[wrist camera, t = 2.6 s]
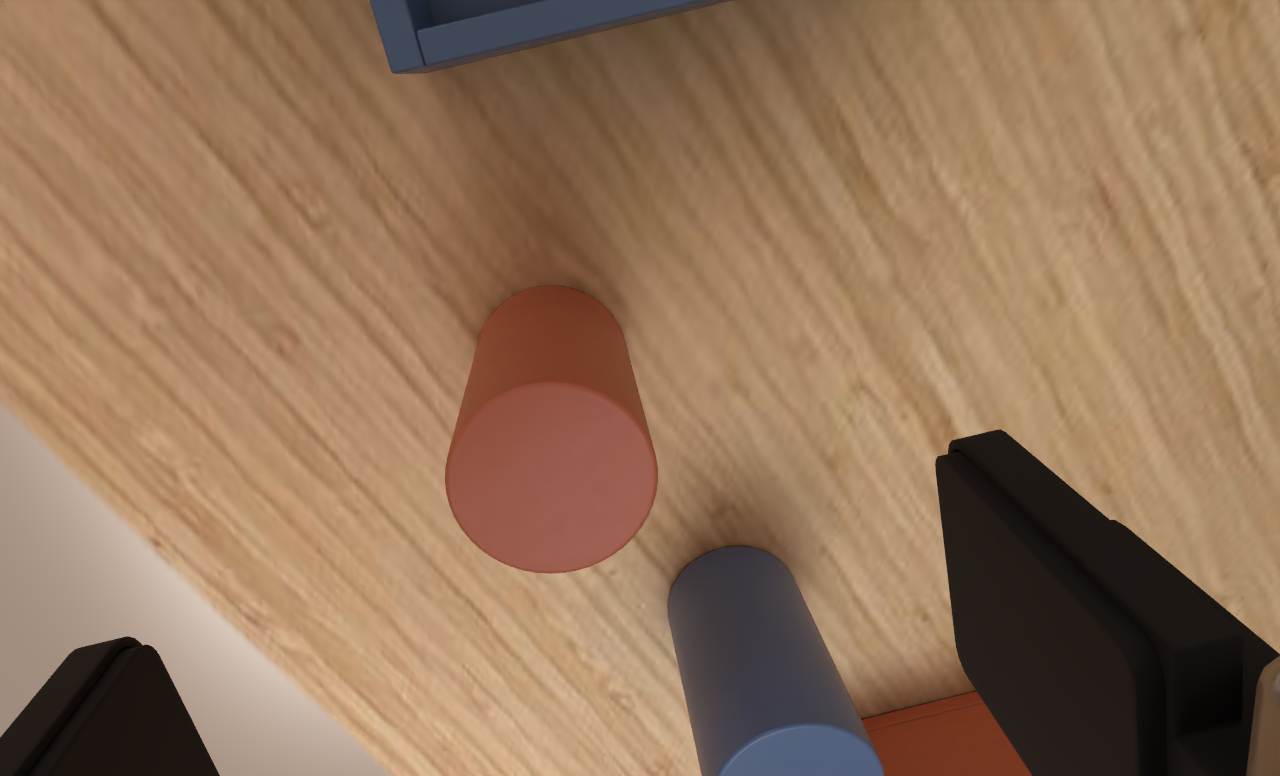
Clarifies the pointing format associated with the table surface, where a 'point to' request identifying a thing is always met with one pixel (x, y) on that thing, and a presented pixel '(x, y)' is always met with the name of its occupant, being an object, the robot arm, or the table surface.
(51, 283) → the table surface
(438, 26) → the slate bin
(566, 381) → the terracotta peg
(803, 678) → the slate peg
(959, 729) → the terracotta bin
